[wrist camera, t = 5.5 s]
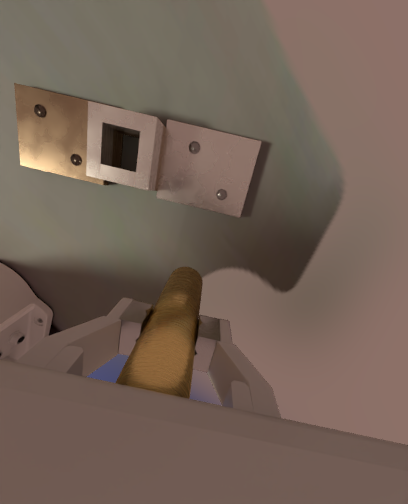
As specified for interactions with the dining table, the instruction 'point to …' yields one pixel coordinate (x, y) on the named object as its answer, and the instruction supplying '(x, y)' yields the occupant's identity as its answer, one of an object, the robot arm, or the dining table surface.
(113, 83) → the dining table surface
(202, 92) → the dining table surface
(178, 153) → the hinge
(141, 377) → the brass pin
